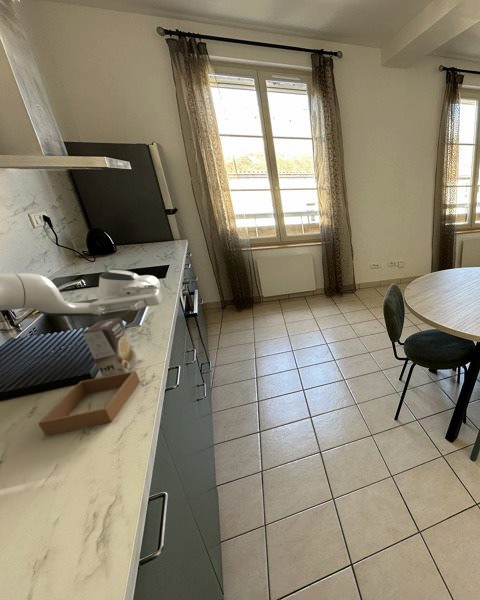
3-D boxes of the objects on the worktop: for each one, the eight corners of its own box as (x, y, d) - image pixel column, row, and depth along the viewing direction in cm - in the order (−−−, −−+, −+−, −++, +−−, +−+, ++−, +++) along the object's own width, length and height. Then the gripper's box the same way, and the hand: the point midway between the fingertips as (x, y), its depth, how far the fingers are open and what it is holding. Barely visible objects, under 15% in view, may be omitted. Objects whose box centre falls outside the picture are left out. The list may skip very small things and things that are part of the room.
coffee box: (127, 375, 102) (106, 329, 95) (103, 380, 100) (80, 333, 94) (139, 360, 110) (121, 317, 104) (117, 364, 108) (97, 320, 102)
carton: (45, 436, 79) (37, 423, 77) (86, 392, 94) (80, 381, 93) (111, 421, 82) (105, 409, 81) (140, 381, 98) (135, 370, 96)
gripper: (98, 292, 117) (75, 307, 105) (162, 284, 122) (148, 297, 110) (105, 309, 119) (83, 324, 107) (168, 299, 124) (154, 314, 112)
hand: (116, 310), depth 108 cm, fingers open, 8 cm apart
